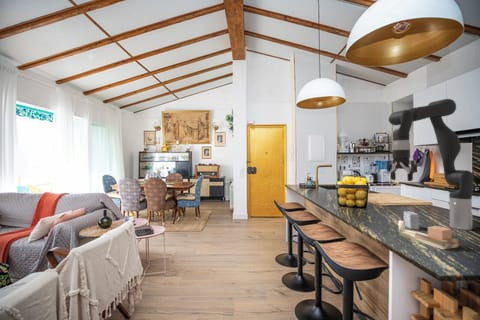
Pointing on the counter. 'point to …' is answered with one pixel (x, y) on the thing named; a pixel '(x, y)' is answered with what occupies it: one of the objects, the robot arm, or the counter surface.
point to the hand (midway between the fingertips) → (401, 180)
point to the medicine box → (411, 220)
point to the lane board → (431, 240)
